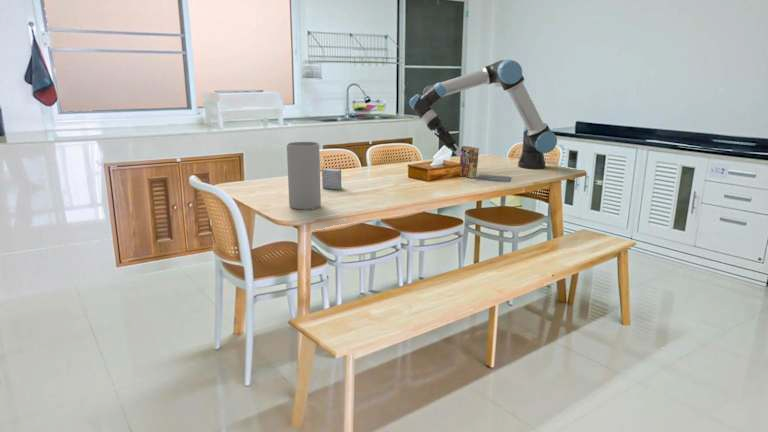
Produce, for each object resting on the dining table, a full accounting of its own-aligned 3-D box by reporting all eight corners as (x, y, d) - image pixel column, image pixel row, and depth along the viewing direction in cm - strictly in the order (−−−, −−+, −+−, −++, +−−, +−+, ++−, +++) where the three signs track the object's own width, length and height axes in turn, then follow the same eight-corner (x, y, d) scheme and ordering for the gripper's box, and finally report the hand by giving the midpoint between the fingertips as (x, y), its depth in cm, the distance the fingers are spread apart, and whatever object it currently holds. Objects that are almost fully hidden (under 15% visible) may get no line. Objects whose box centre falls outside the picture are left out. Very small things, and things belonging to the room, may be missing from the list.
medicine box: (341, 187, 242) (341, 169, 240) (337, 189, 238) (337, 171, 235) (326, 186, 244) (325, 168, 242) (322, 188, 240) (321, 170, 238)
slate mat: (511, 177, 269) (511, 176, 269) (509, 181, 258) (509, 181, 258) (479, 175, 274) (480, 174, 274) (476, 179, 263) (476, 178, 263)
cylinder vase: (283, 208, 206) (280, 145, 199) (299, 201, 217) (297, 141, 210) (311, 211, 201) (309, 147, 194) (326, 204, 213) (324, 142, 206)
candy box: (477, 177, 268) (479, 147, 264) (471, 178, 265) (473, 148, 261) (464, 174, 274) (466, 145, 271) (458, 175, 272) (460, 146, 268)
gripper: (431, 124, 278) (460, 158, 275) (421, 126, 267) (451, 161, 264) (441, 114, 274) (470, 148, 271) (431, 116, 263) (461, 152, 260)
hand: (460, 155), depth 268 cm, fingers closed
